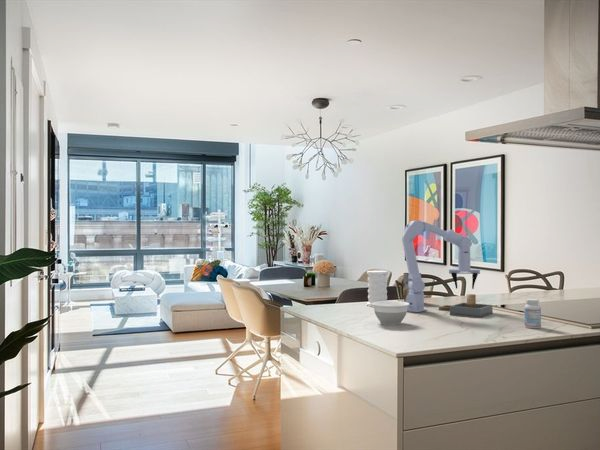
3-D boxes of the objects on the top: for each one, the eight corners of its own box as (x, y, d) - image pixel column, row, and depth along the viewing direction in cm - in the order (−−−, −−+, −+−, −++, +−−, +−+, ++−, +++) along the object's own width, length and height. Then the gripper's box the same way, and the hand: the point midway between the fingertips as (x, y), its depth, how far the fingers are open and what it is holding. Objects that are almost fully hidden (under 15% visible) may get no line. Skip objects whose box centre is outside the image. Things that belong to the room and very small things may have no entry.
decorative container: (381, 303, 296) (381, 270, 297) (393, 306, 286) (392, 271, 286) (362, 304, 292) (362, 271, 292) (373, 307, 281) (373, 272, 281)
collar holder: (454, 311, 265) (454, 308, 265) (438, 309, 270) (438, 306, 270) (461, 309, 271) (461, 306, 271) (445, 308, 276) (445, 305, 277)
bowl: (365, 322, 239) (365, 302, 239) (397, 319, 244) (397, 300, 244) (383, 327, 224) (383, 306, 224) (417, 325, 229) (416, 304, 229)
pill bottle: (527, 325, 225) (526, 298, 225) (543, 327, 221) (542, 299, 221) (522, 327, 220) (522, 299, 220) (538, 329, 216) (538, 300, 216)
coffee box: (422, 302, 300) (421, 272, 300) (421, 303, 294) (420, 273, 294) (404, 301, 302) (404, 272, 303) (403, 303, 296) (403, 273, 296)
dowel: (474, 312, 253) (473, 295, 253) (465, 312, 256) (465, 294, 256) (477, 311, 256) (476, 294, 256) (468, 310, 259) (468, 294, 259)
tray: (480, 317, 246) (480, 308, 246) (449, 314, 255) (449, 306, 255) (492, 313, 257) (492, 304, 257) (462, 310, 266) (462, 302, 266)
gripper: (479, 260, 272) (480, 287, 272) (449, 260, 276) (449, 287, 276) (479, 261, 265) (480, 289, 265) (448, 261, 270) (449, 288, 269)
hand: (464, 288), depth 270 cm, fingers open, 7 cm apart
